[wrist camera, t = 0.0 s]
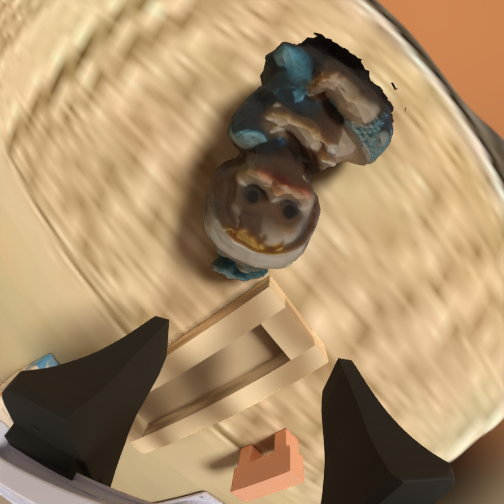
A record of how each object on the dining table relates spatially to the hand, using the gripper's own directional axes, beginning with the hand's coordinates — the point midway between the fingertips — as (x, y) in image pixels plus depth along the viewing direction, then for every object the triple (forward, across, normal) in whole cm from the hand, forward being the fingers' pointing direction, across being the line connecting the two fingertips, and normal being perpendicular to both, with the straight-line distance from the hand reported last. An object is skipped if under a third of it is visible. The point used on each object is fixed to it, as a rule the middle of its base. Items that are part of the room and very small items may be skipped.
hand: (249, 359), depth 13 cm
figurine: (+12, 0, -6) cm, 14 cm away
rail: (+9, +3, +11) cm, 14 cm away
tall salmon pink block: (+8, -4, +17) cm, 19 cm away
